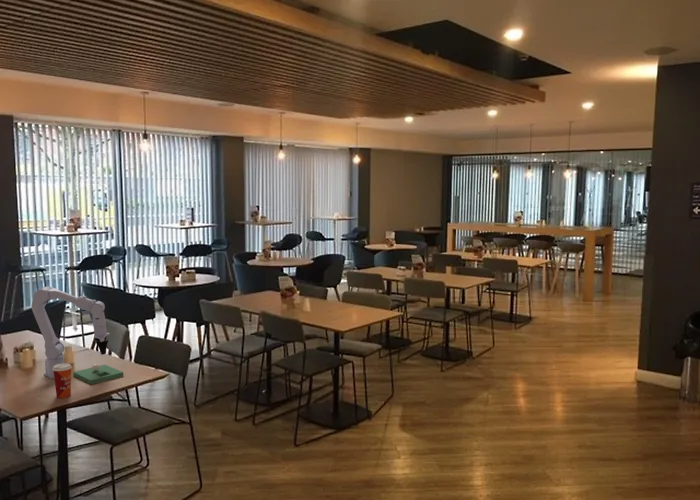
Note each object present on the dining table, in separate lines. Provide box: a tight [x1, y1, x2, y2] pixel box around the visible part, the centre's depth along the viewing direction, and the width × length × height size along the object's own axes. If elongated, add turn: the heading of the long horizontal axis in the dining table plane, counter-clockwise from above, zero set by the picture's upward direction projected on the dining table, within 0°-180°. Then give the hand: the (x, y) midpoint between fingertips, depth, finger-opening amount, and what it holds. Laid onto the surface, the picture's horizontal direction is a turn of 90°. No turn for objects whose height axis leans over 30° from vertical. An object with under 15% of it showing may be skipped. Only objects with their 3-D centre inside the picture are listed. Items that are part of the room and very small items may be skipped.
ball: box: [91, 363, 100, 371], centre depth 287 cm, size 4×4×4 cm
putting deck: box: [72, 364, 124, 385], centre depth 286 cm, size 19×16×2 cm
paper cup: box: [52, 362, 72, 399], centre depth 258 cm, size 8×8×14 cm
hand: (102, 352), depth 290 cm, fingers open, 7 cm apart
